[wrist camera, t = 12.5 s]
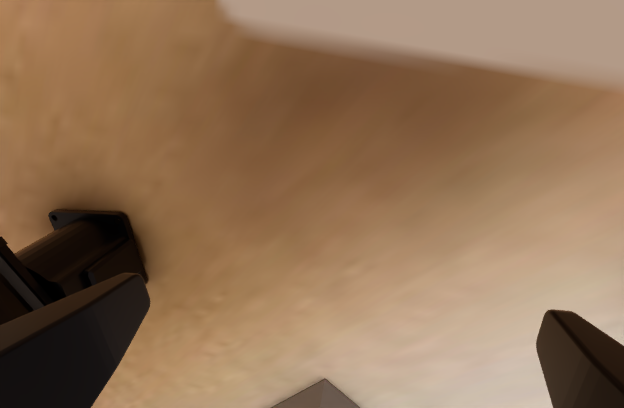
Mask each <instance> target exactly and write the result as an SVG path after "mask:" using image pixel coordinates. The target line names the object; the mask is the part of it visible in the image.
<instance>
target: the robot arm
mask: <svg viewBox="0 0 624 408" xmlns="http://www.w3.org/2000/svg"><path fill="white" fill-rule="evenodd" d="M48 216H49V219H50V221H51V223H52V226H53V228H54V230H55V231H54V232H52V233H50V234H48V235H47V236H45V237H43V238H41V239H39V240H38V241H36V242H34V243H32V244H31V245H29V246H27V247H25V248H24V249H22V250H20V251H18V252H17V253H15V254H14V253H13V252H12V251H11V250H10V249H9V247H8V246H7V245H6V244H8V243H7V242H6V241H5V240H4V239H3V238H2V236H1V237H0V408H91V406H92V405H93V403H94V402H95V400H96V399H97V397H98V396H99V394H100V393H101V391H102V390H103V388H104V387H105V385H106V384H107V382H108V381H109V379H110V378H111V376H112V375H113V373H114V371H115V370H116V368H117V367H118V365H119V363H120V361H121V360H122V358H123V356H124V354H125V352H126V351H127V349H128V347H129V345H130V343H131V341H132V339H133V338H134V336H135V334H136V332H137V330H138V328H139V327H140V325H141V323H142V321H143V319H144V317H145V316H146V314H147V312H148V310H149V307H150V297H149V294H148V291H147V288H146V284H147V278H146V275H145V272H144V269H143V265H142V262H141V259H140V256H139V253H138V250H137V247H136V244H135V241H134V238H133V234H132V231H131V228H130V225H129V222H128V219H127V217H126V216H125V215H124V214H123V213H120V212H102V211H78V210H54V211H52V212H50V213H49V215H48ZM119 219H120V220H119ZM536 348H537V353H538V357H539V360H540V364H541V367H542V371H543V374H544V378H545V381H546V385H547V388H548V391H549V395H550V398H551V402H552V405H553V408H624V346H623V345H622V344H620V343H619V342H617V341H616V340H614V339H613V338H611V337H610V336H608V335H607V334H605V333H604V332H602V331H601V330H599V329H598V328H597V327H595V326H594V325H592V324H591V323H589V322H588V321H586V320H585V319H583V318H582V317H580V316H579V315H577V314H576V313H574V312H571V311H564V310H548V311H547V312H546V313H545V315H544V317H543V321H542V324H541V327H540V330H539V334H538V337H537V341H536Z"/></svg>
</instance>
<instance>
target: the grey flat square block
mask: <svg viewBox="0 0 624 408" xmlns="http://www.w3.org/2000/svg"><path fill="white" fill-rule="evenodd" d="M272 408H359V407H358V406H357V405H356V404H354V403H353V402H352V401H351V400H350V399H349V398H347V397H346V396H345V395H344V394H343V393H341V392H340V391H339V390H338V389H337V388H335V387H334V386H333V385H332V384H331V383H329V382H328V381H327V380H326V379H324V380H322V381H320V382H318V383H317V384H315V385H313V386H311V387H309V388H307V389H306V390H304V391H302V392H300V393H298V394H296V395H294V396H293V397H291V398H289V399H287V400H285V401H283V402H282V403H280V404H278V405H276V406H274V407H272Z"/></svg>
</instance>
